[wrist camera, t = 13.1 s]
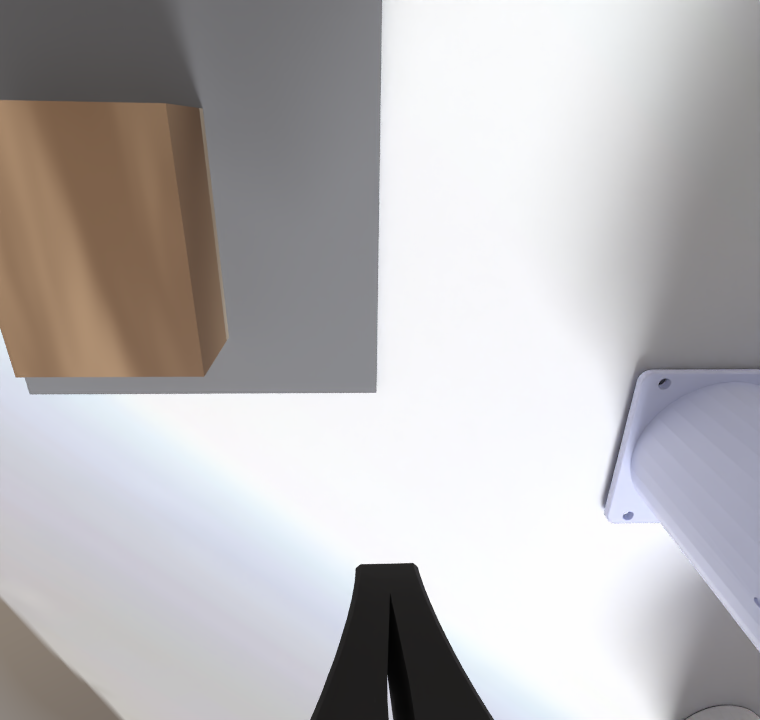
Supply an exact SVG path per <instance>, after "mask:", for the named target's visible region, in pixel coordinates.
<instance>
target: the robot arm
mask: <svg viewBox="0 0 760 720" xmlns="http://www.w3.org/2000/svg"><path fill="white" fill-rule="evenodd" d="M665 378H666V380H665V382H664V383H663V384H662V385H659V382H660V381H661V380H662V379H665ZM626 512H628V513H627V514H624V513H626ZM604 515H605V516H606V518H607V520H608V521H609V522H611V523H615V524H620V523H660V524H661V525H662V526H663V527H664V529H665V530H666V531H667V533H668V534H669V535H670V536H671V538H672V539H673V540H674V542H675V543H676V544H677V546H678V547H679V548H680V549H681V551H682V552H683V553H684V555H685V556H686V557H687V559H688V560H689V561H690V562H691V564H692V565H693V566H694V568H695V569H696V570H697V572H698V573H699V574H700V575H701V577H702V578H703V579H704V581H705V582H706V583H707V585H708V586H709V587H710V588H711V590H712V591H713V592H714V594H715V595H716V596H717V597H718V599H719V600H720V601H721V603H722V604H723V605H724V607H725V608H726V609H727V610H728V612H729V613H730V614H731V616H732V617H733V618H734V620H735V621H736V622H737V623H738V625H739V626H740V627H741V629H742V630H743V631H744V633H745V634H746V635H747V636H748V638H749V639H750V640H751V642H752V643H753V644H754V646H755V647H756V648H757V649H758V651H759V652H760V369H682V370H647V371H645V372H643V373H642V374H641V375H640V376H639V377H638V380H637V383H636V387H635V391H634V395H633V399H632V403H631V407H630V411H629V415H628V419H627V423H626V427H625V431H624V435H623V439H622V443H621V447H620V450H619V454H618V458H617V462H616V466H615V470H614V474H613V478H612V482H611V486H610V490H609V494H608V498H607V502H606V506H605V510H604ZM387 675H388V683H389V690H390V698H391V705H392V713H393V720H494V719H493V718H492V716H491V714H490V713H489V711H488V710H487V708H486V706H485V705H484V703H483V702H482V700H481V698H480V697H479V695H478V693H477V692H476V690H475V688H474V687H473V685H472V683H471V681H470V680H469V678H468V676H467V675H466V673H465V671H464V669H463V668H462V666H461V664H460V662H459V660H458V658H457V657H456V655H455V653H454V651H453V649H452V647H451V645H450V643H449V641H448V639H447V637H446V635H445V633H444V631H443V629H442V627H441V625H440V623H439V621H438V619H437V616H436V614H435V612H434V610H433V607H432V605H431V603H430V600H429V598H428V596H427V593H426V591H425V588H424V585H423V582H422V580H421V577H420V574H419V570H418V567H417V566H416V565H415V564H414V563H401V564H361V565H359V566H358V567H357V568H356V574H355V583H354V590H353V595H352V600H351V604H350V608H349V612H348V616H347V620H346V623H345V627H344V630H343V633H342V637H341V640H340V643H339V646H338V650H337V653H336V655H335V658H334V661H333V664H332V666H331V669H330V672H329V674H328V677H327V680H326V682H325V685H324V688H323V691H322V693H321V696H320V698H319V700H318V703H317V705H316V708H315V710H314V712H313V715H312V717H311V719H310V720H389V718H388V703H387Z"/></svg>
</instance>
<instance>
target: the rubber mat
mask: <svg viewBox="0 0 760 720" xmlns="http://www.w3.org/2000/svg"><path fill="white" fill-rule="evenodd" d="M381 25H382V0H0V100H22V101H74V102H126V103H167V104H174V105H181V106H188V107H195V108H202V109H203V115H204V124H205V132H206V141H207V150H208V159H209V167H210V176H211V185H212V193H213V202H214V211H215V219H216V228H217V237H218V245H219V254H220V263H221V271H222V280H223V289H224V298H225V306H226V315H227V324H228V332H229V338H228V340H227V341H226V343H225V344H224V346H223V348H222V349H221V351H220V352H219V354H218V356H217V357H216V359H215V360H214V362H213V364H212V365H211V367H210V368H209V370H208V372H207V373H206V375H205V376H204V377H25V380H26V383H27V387H28V390H29V393H30V394H204V393H376V378H377V307H378V237H379V166H380V96H381Z"/></svg>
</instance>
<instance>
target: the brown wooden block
mask: <svg viewBox="0 0 760 720" xmlns="http://www.w3.org/2000/svg"><path fill="white" fill-rule="evenodd" d="M0 329H1V332H2V335H3V338H4V341H5V345H6V348H7V351H8V354H9V357H10V361H11V364H12V367H13V370H14V373H15V377H204V376H205V375H206V373H207V372H208V370H209V368H210V367H211V365H212V364H213V362H214V360H215V359H216V357H217V356H218V354H219V352H220V351H221V349H222V348H223V346H224V344H225V343H226V341H227V340H228V338H229V332H228V324H227V315H226V306H225V298H224V289H223V280H222V271H221V263H220V254H219V245H218V237H217V228H216V219H215V211H214V202H213V193H212V185H211V176H210V167H209V159H208V150H207V141H206V132H205V124H204V115H203V109H202V108H195V107H188V106H181V105H174V104H167V103H126V102H74V101H22V100H0Z"/></svg>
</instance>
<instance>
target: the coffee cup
mask: <svg viewBox="0 0 760 720" xmlns="http://www.w3.org/2000/svg"><path fill="white" fill-rule="evenodd" d="M686 720H760V717H759V716H757V715H756V714H755V713H754V712H752V711H750V710H749V709H746V708H743V707H739V706H731V705H723V706H715V707H711V708H708V709H705V710H702V711H700V712H697V713H696V714H694V715H692V716H690V717H688V718H687V719H686Z"/></svg>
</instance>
